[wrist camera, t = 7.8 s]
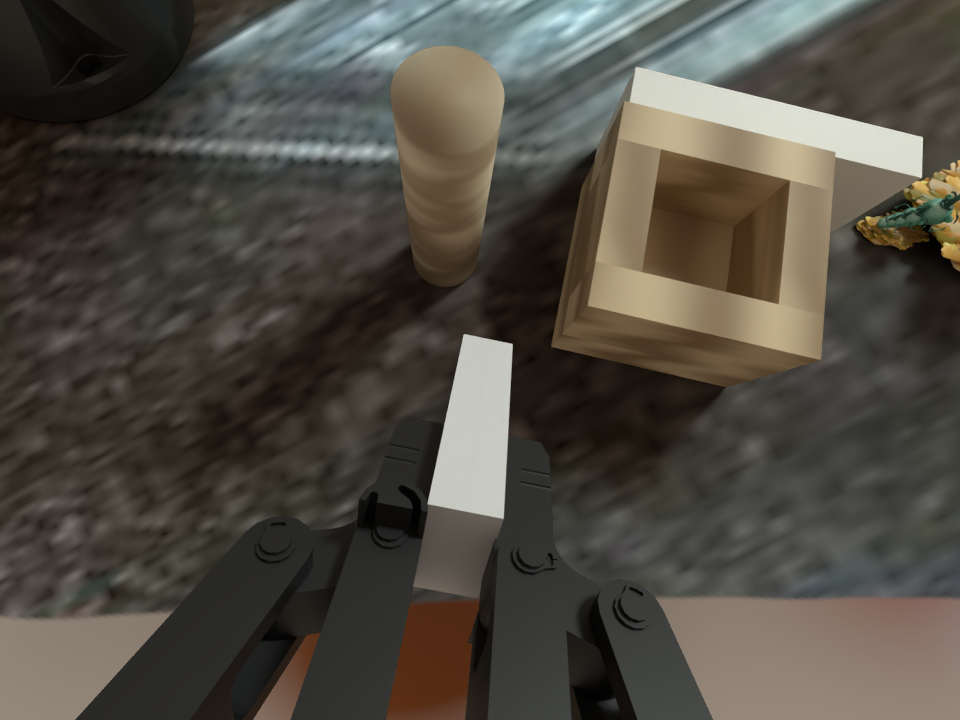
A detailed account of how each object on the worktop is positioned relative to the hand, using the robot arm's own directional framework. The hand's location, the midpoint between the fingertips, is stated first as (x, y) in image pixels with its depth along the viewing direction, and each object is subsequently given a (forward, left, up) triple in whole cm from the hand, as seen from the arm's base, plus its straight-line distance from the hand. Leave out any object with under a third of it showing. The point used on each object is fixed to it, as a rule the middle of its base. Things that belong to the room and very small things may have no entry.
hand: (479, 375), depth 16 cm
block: (+10, +11, -14) cm, 20 cm away
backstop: (+13, +18, -14) cm, 26 cm away
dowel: (-3, +10, -14) cm, 17 cm away
